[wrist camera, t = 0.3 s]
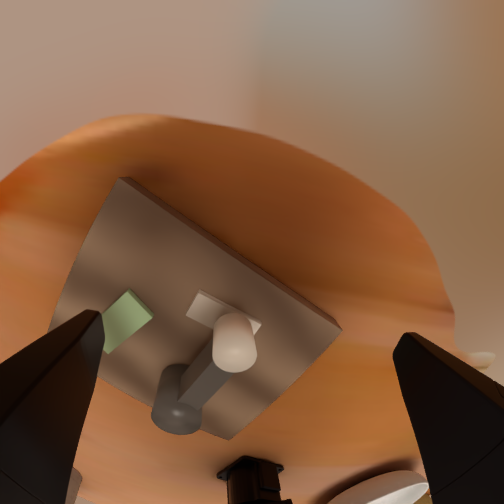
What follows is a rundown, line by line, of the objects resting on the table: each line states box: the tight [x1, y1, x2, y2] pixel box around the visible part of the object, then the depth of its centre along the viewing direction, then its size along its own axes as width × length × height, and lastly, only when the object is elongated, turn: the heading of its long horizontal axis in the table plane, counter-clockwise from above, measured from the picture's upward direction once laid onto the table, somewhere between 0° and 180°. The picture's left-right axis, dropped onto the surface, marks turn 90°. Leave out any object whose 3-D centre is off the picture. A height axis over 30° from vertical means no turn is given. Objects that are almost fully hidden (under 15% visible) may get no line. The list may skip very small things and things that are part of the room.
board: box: [47, 177, 343, 440], centre depth 21 cm, size 16×20×3 cm
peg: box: [151, 313, 257, 435], centre depth 19 cm, size 10×4×4 cm, turn 143°
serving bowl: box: [327, 470, 429, 504], centre depth 32 cm, size 21×21×7 cm
